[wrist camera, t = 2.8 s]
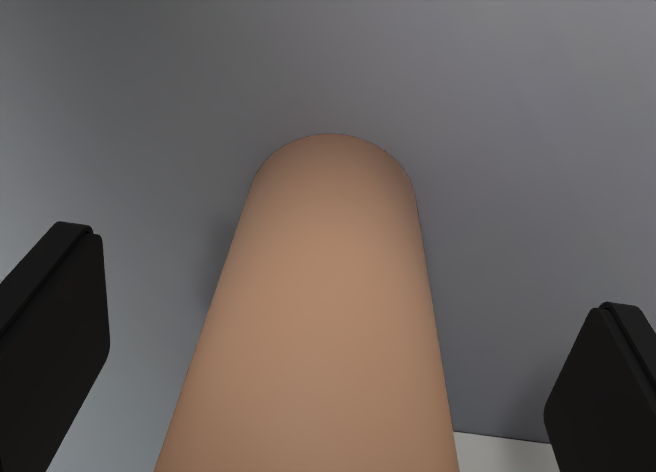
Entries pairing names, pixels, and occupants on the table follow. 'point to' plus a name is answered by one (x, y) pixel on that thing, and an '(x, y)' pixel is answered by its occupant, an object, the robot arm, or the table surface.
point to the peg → (319, 328)
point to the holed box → (502, 454)
